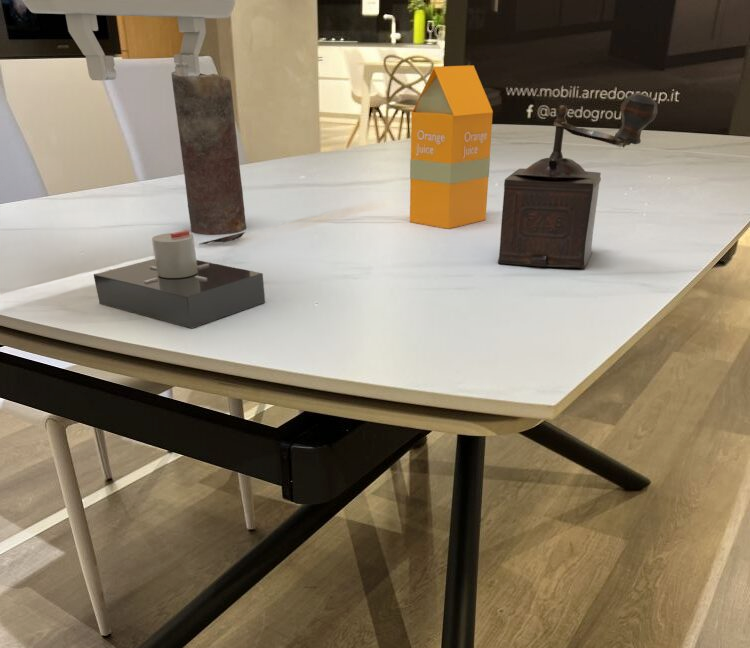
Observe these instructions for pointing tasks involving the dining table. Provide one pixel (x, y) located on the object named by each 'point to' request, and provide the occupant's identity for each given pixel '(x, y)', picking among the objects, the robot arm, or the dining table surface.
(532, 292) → the dining table surface
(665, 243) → the dining table surface
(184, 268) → the knob
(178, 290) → the dark grey flat block
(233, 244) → the dining table surface
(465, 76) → the orange juice
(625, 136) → the manual coffee grinder
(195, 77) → the rusty brown cylinder
